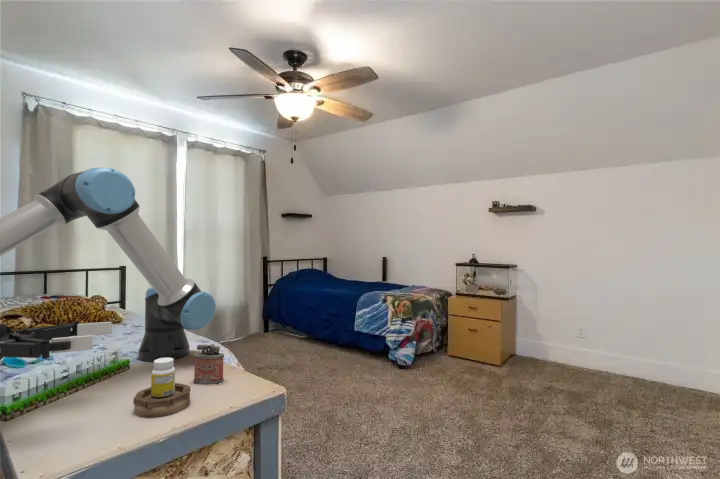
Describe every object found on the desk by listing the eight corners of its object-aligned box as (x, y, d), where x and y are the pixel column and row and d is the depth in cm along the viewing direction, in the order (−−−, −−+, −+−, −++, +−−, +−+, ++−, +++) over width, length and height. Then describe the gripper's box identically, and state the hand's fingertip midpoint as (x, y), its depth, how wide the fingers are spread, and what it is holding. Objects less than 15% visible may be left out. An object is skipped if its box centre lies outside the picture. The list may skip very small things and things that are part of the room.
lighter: (226, 380, 100) (226, 343, 100) (220, 385, 96) (220, 346, 97) (197, 379, 101) (198, 342, 101) (190, 384, 97) (191, 345, 98)
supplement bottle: (156, 393, 85) (157, 356, 86) (178, 393, 86) (178, 356, 86) (146, 402, 81) (147, 363, 81) (169, 401, 81) (170, 362, 81)
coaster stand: (140, 400, 87) (140, 386, 87) (191, 394, 90) (192, 381, 90) (128, 420, 76) (129, 405, 76) (187, 413, 80) (187, 398, 80)
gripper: (9, 347, 84) (117, 337, 92) (-73, 387, 61) (81, 370, 68) (9, 314, 84) (117, 307, 92) (-73, 341, 61) (81, 329, 68)
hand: (102, 334), depth 80 cm, fingers open, 13 cm apart
